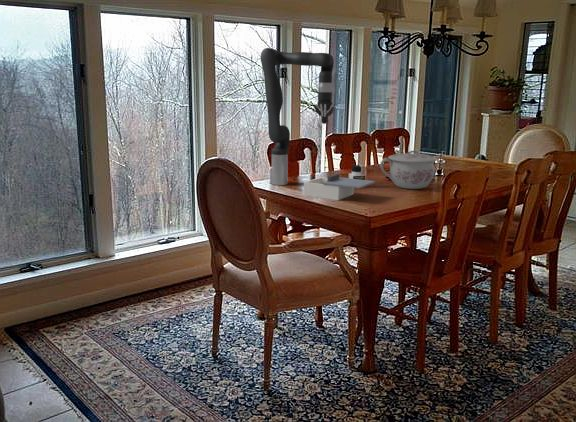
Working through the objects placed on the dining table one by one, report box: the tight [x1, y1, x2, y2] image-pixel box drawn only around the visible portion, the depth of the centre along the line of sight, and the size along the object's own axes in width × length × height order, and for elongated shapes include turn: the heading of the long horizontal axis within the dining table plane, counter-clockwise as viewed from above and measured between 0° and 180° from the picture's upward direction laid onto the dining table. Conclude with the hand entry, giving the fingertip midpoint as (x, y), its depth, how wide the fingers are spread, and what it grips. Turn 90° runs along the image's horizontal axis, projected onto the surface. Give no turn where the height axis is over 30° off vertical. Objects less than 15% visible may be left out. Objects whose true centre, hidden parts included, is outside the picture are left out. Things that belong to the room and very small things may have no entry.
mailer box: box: [303, 177, 355, 201], centre depth 290 cm, size 20×18×7 cm
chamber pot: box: [379, 150, 439, 190], centre depth 311 cm, size 28×28×21 cm
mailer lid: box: [322, 173, 376, 189], centre depth 282 cm, size 21×19×3 cm
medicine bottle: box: [348, 164, 366, 189], centre depth 312 cm, size 7×7×12 cm
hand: (324, 123), depth 305 cm, fingers closed
